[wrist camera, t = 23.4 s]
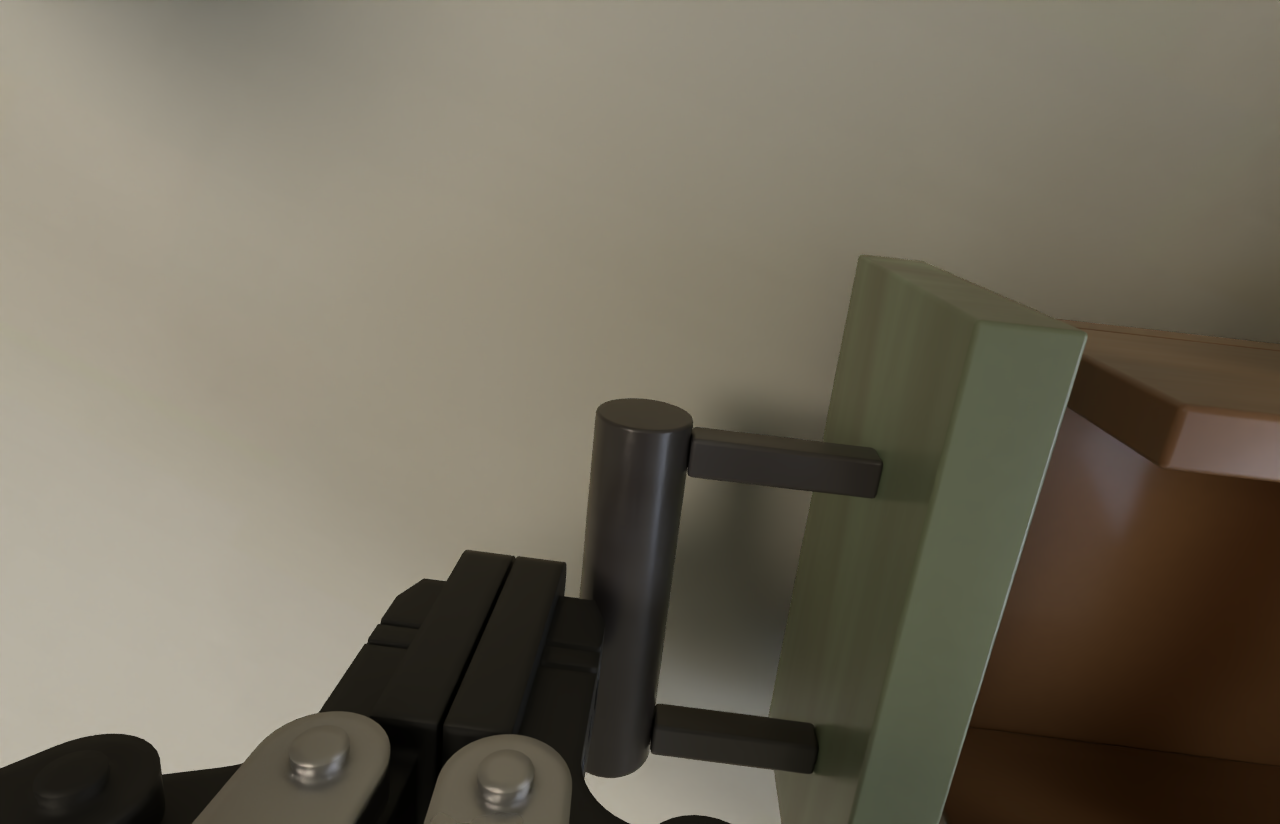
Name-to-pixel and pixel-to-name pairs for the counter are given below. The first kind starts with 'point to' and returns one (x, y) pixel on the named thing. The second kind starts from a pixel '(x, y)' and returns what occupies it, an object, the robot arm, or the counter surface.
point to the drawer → (980, 572)
